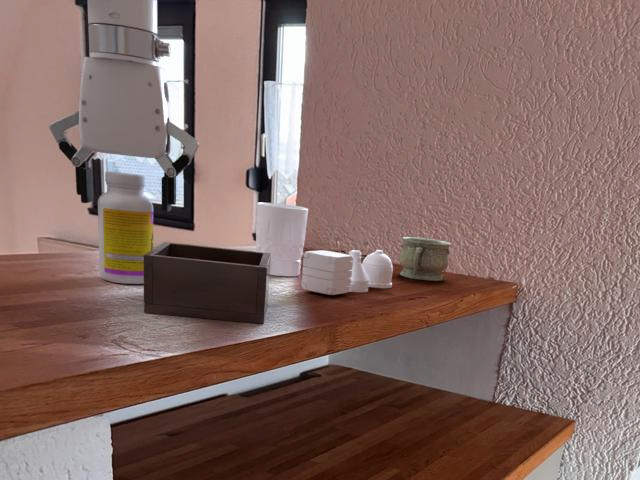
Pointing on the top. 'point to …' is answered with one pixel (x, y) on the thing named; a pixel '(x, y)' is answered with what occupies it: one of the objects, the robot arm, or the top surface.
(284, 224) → the white cup
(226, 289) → the box
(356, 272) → the container set
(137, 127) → the robot arm
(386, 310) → the top surface
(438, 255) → the vessel
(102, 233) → the supplement bottle
